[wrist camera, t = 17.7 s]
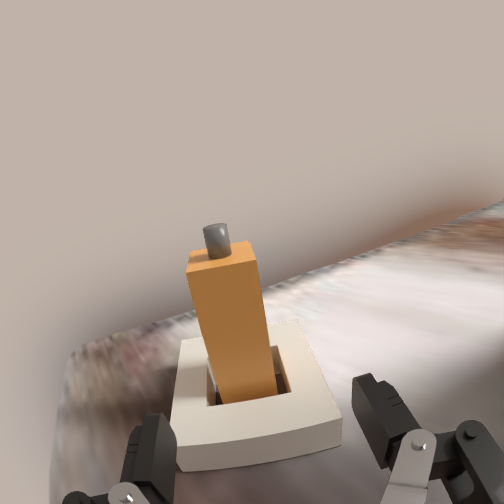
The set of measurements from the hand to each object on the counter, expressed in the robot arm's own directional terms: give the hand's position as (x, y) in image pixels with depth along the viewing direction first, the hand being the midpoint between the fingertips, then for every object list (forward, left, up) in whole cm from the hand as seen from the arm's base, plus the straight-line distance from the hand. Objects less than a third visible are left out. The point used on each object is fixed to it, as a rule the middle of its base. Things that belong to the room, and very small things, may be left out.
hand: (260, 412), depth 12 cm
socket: (-7, -9, -11) cm, 16 cm away
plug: (-7, -9, -11) cm, 16 cm away
